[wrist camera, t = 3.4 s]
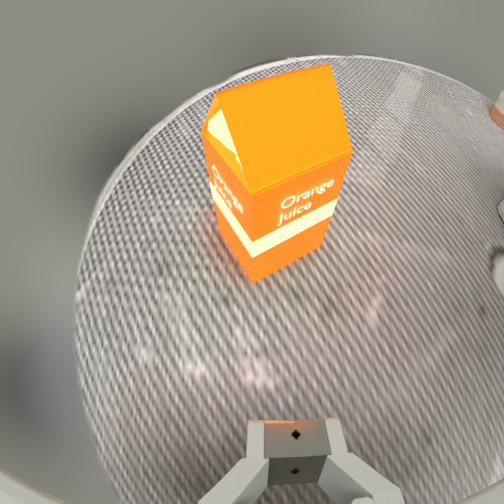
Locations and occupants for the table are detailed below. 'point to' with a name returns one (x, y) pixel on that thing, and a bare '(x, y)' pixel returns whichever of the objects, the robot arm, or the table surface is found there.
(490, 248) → the table surface
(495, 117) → the pepper shaker
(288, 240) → the orange juice
